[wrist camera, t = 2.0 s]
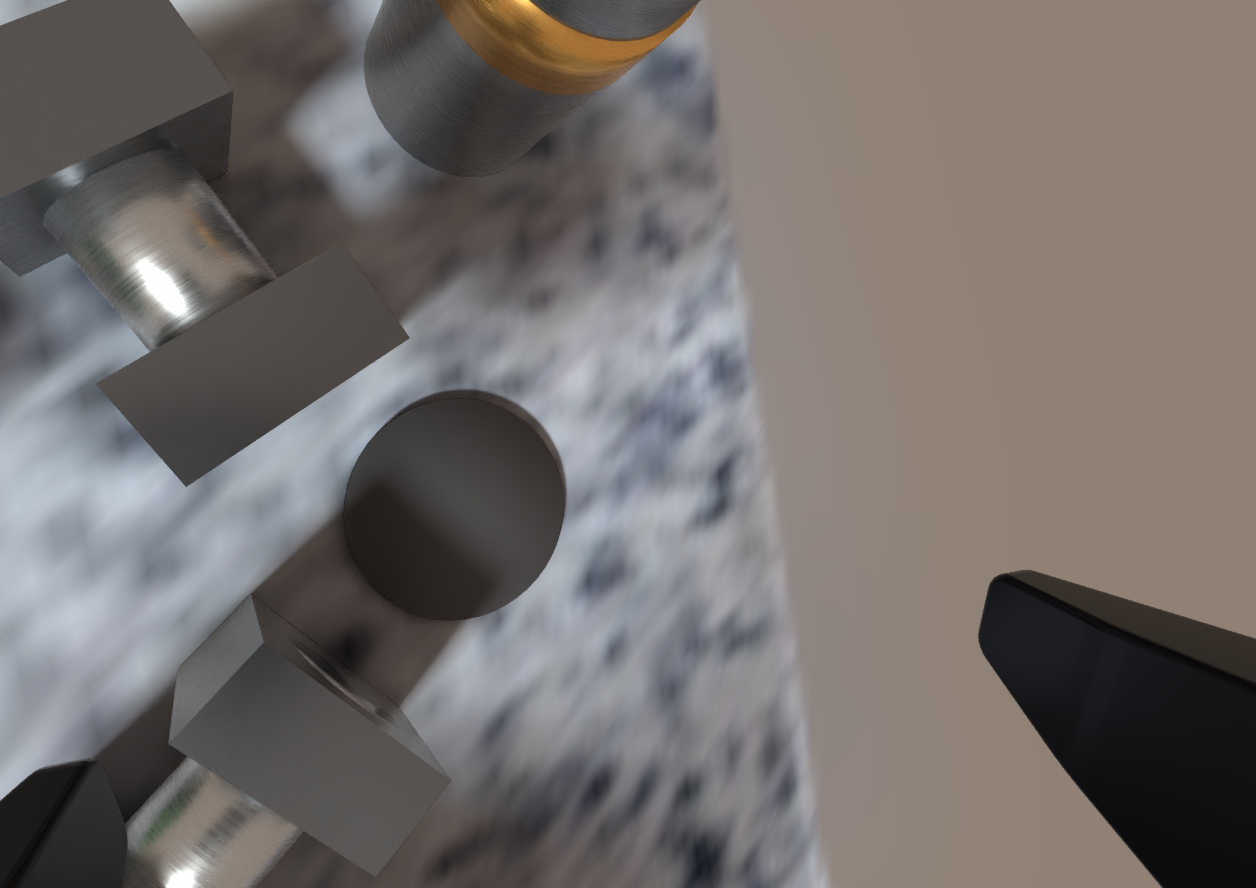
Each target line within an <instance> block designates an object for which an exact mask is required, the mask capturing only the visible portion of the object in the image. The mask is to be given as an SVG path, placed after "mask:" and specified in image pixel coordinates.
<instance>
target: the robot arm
mask: <svg viewBox="0 0 1256 888" xmlns="http://www.w3.org/2000/svg"><path fill="white" fill-rule="evenodd" d="M978 639H979V644H980V648H981V650H982V652H983V654H984V656H985V658H986V659H987V661H988V662H989V663H990V665H991V666H992V668H993V669H994V671H995V672H996V673H997V675H998V676H999V678H1000V679H1001V680H1002V682H1003V684H1004V685H1005V686H1006V688H1007V689H1008V691H1009V692H1010V694H1011V695H1012V696H1013V698H1014V699H1015V701H1016V702H1017V703H1018V705H1019V706H1020V708H1021V709H1022V711H1023V712H1024V713H1025V715H1026V716H1027V718H1028V719H1029V721H1030V722H1031V724H1032V725H1033V726H1034V728H1035V729H1036V731H1037V732H1038V734H1039V735H1040V736H1041V738H1042V739H1043V741H1044V742H1045V744H1046V745H1047V746H1048V748H1049V749H1050V751H1051V752H1052V753H1053V755H1054V756H1055V758H1056V759H1057V760H1058V762H1059V763H1060V764H1061V766H1062V767H1063V768H1064V770H1065V771H1066V772H1067V774H1068V775H1069V776H1070V777H1071V779H1072V780H1073V781H1074V782H1075V784H1076V785H1077V786H1078V787H1079V789H1080V790H1081V791H1082V792H1083V793H1084V795H1085V796H1086V797H1087V798H1088V799H1089V801H1090V802H1091V803H1092V804H1093V805H1094V807H1095V808H1096V809H1097V810H1098V812H1099V813H1100V814H1101V815H1102V816H1103V818H1104V819H1105V820H1106V821H1107V822H1108V824H1109V825H1111V827H1112V828H1113V829H1114V831H1115V832H1116V833H1117V834H1118V836H1119V837H1120V838H1121V839H1122V840H1123V842H1124V843H1125V844H1126V845H1127V846H1128V848H1129V849H1130V850H1131V851H1132V852H1133V853H1134V855H1135V856H1136V857H1137V858H1138V860H1139V861H1140V862H1141V863H1142V864H1143V866H1144V867H1145V868H1146V869H1147V870H1148V872H1149V873H1150V874H1151V875H1152V876H1153V878H1154V879H1155V880H1156V881H1157V882H1158V884H1159V885H1160V886H1161V887H1162V888H1256V639H1255V638H1252V637H1249V636H1245V635H1242V634H1239V633H1236V632H1232V631H1229V630H1225V629H1222V628H1219V627H1216V626H1213V625H1209V624H1206V623H1202V622H1199V621H1196V620H1193V619H1190V618H1186V617H1183V616H1180V615H1177V614H1173V613H1170V612H1167V611H1164V610H1160V609H1157V608H1154V607H1150V606H1147V605H1144V604H1141V603H1137V602H1134V601H1131V600H1128V599H1124V598H1121V597H1118V596H1114V595H1111V594H1108V593H1105V592H1101V591H1098V590H1095V589H1091V588H1088V587H1085V586H1082V585H1079V584H1075V583H1072V582H1068V581H1065V580H1062V579H1059V578H1056V577H1052V576H1049V575H1046V574H1043V573H1039V572H1036V571H1032V570H1020V571H1015V572H1010V573H1005V574H1000V575H998V576H996V577H995V578H994V579H993V580H992V581H991V583H990V585H989V587H988V591H987V596H986V601H985V605H984V609H983V614H982V618H981V623H980V627H979V633H978ZM127 853H128V838H127V831H126V826H125V823H124V820H123V818H122V815H121V812H120V809H119V807H118V804H117V801H116V798H115V796H114V793H113V790H112V787H111V785H110V782H109V779H108V776H107V774H106V771H105V769H104V767H103V766H102V764H101V763H100V762H99V761H97V760H95V759H91V758H86V759H81V760H76V761H71V762H66V763H61V764H56V765H51V766H47V767H44V768H41V769H38V770H37V771H35V772H33V773H32V774H31V775H29V776H28V777H27V778H26V779H25V780H23V781H22V782H21V783H20V784H19V785H18V786H17V787H15V788H14V789H13V790H12V791H11V792H10V793H9V794H7V795H6V796H5V797H4V798H3V799H2V800H1V801H0V888H122V885H123V879H124V873H125V867H126V861H127Z"/></svg>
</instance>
